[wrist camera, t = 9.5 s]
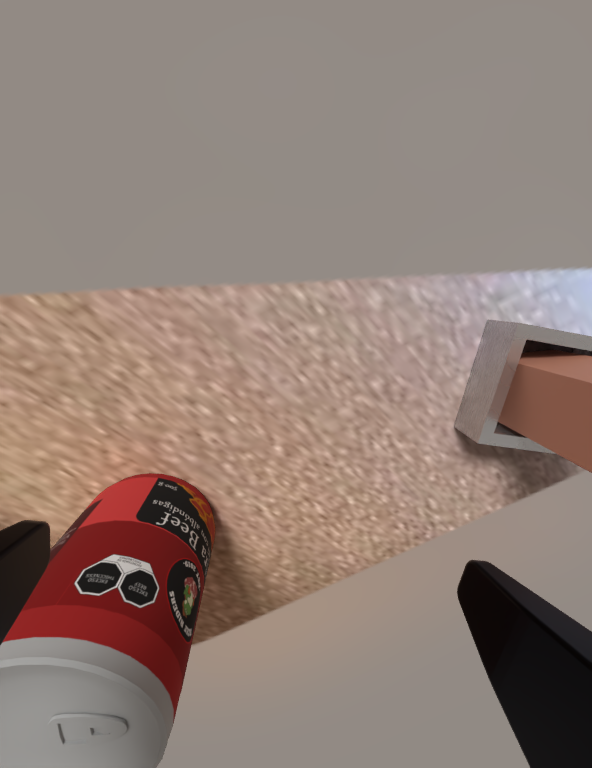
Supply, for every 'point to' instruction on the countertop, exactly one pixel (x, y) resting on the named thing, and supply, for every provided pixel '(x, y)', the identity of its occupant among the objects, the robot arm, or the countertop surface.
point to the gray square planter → (504, 380)
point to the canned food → (108, 631)
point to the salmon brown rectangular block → (553, 403)
